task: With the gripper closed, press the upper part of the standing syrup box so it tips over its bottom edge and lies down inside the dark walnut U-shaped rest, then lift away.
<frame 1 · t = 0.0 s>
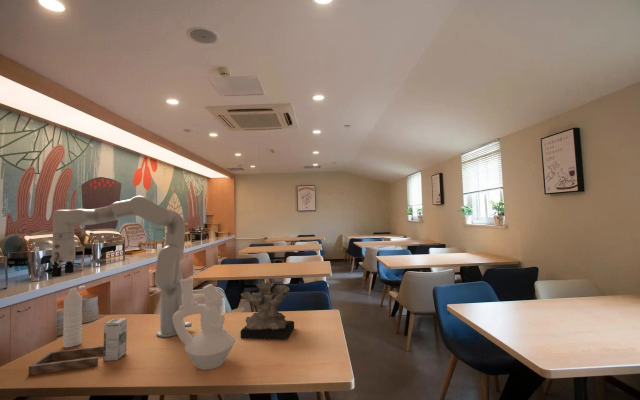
hand: (63, 274, 136), 31 cm above the table, tool pointing down, fingers open, 9 cm apart
coral: (267, 331, 143), on the table
u rest: (74, 362, 117), on the table
syrup box: (115, 357, 120), on the table
water bottle: (74, 344, 135), on the table
white sculpture: (205, 364, 112), on the table
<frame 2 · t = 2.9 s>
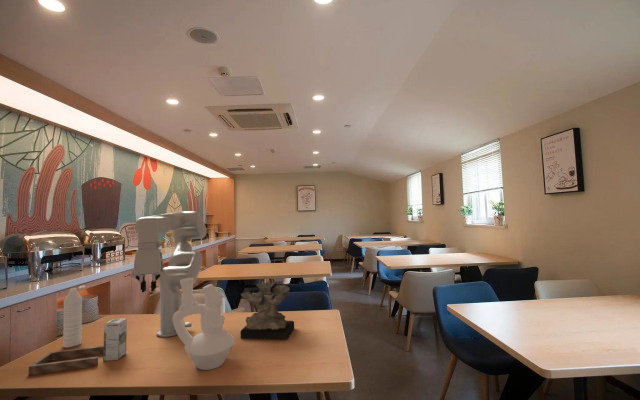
hand: (148, 290, 125), 25 cm above the table, tool pointing down, fingers closed
nothing on the table moved.
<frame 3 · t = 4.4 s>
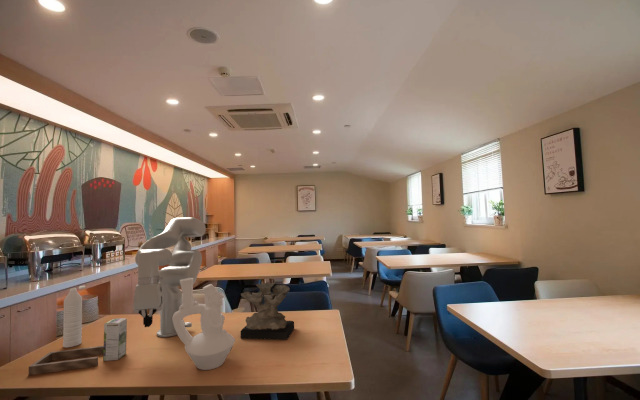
hand: (147, 326, 123), 11 cm above the table, tool pointing down, fingers closed
nothing on the table moved.
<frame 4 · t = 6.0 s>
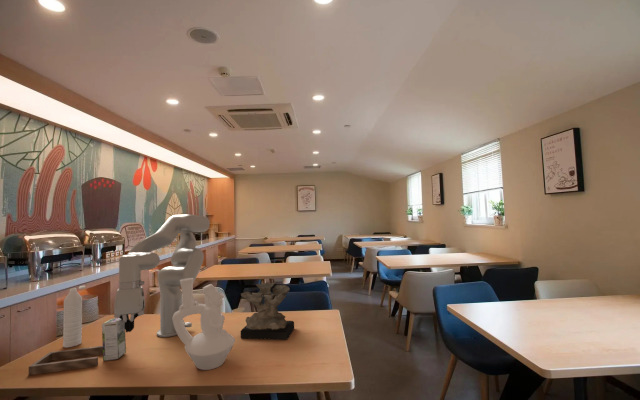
hand: (129, 330, 122), 10 cm above the table, tool pointing down, fingers closed
syrup box: (115, 357, 120), on the table, touching gripper
everything else where it was.
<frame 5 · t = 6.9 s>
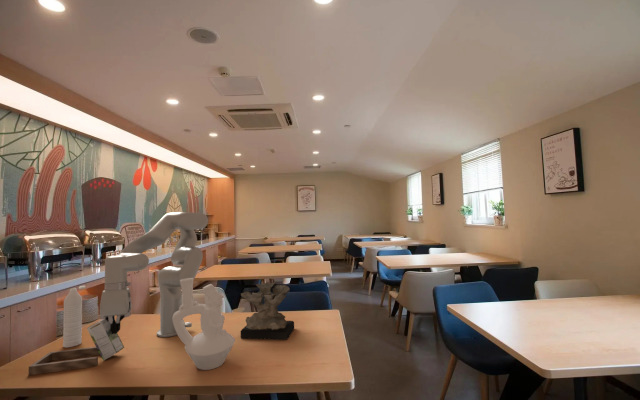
hand: (115, 332, 121), 10 cm above the table, tool pointing down, fingers closed
syrup box: (114, 354, 120), point 1 cm above the table
everything else where it was.
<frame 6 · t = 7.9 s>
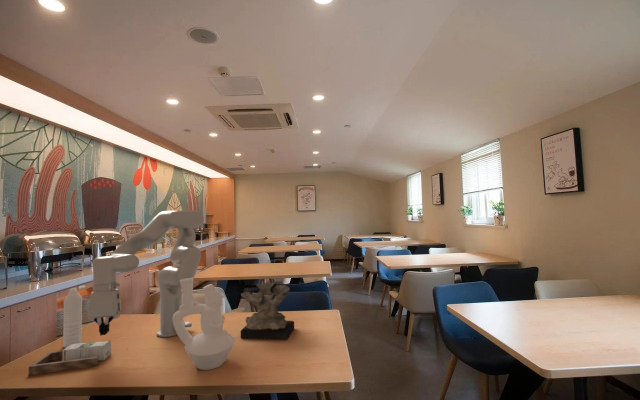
hand: (104, 333, 120), 10 cm above the table, tool pointing down, fingers closed
syrup box: (108, 349, 120), point 3 cm above the table
everything else where it was.
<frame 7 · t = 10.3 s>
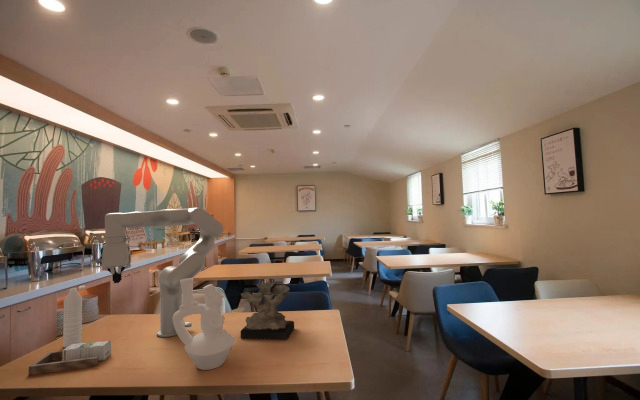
hand: (117, 282, 132), 28 cm above the table, tool pointing down, fingers closed
nothing on the table moved.
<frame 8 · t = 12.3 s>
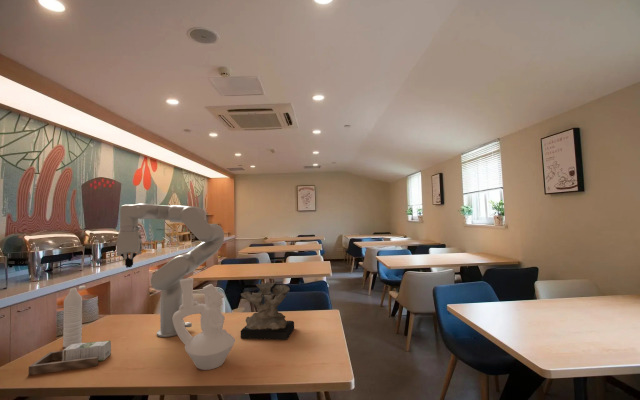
hand: (129, 267, 147), 32 cm above the table, tool pointing down, fingers closed
nothing on the table moved.
at the end: syrup box tilted 90°; syrup box inside the target area on the u rest (1.0 cm from its centre), point 3.0 cm above the u rest's base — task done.
